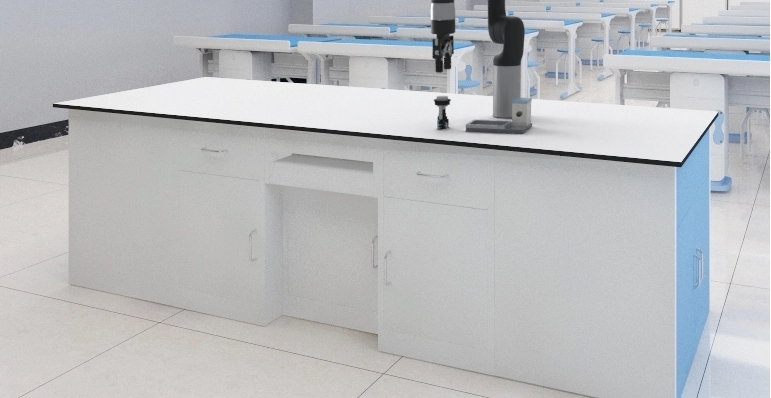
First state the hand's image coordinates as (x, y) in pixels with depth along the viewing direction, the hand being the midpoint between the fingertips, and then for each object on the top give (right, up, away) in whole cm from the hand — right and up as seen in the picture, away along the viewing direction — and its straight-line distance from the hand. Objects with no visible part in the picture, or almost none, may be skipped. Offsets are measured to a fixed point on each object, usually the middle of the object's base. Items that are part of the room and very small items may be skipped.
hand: (443, 70), depth 290 cm
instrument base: (+18, -18, +2) cm, 25 cm away
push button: (0, -18, +5) cm, 19 cm away
